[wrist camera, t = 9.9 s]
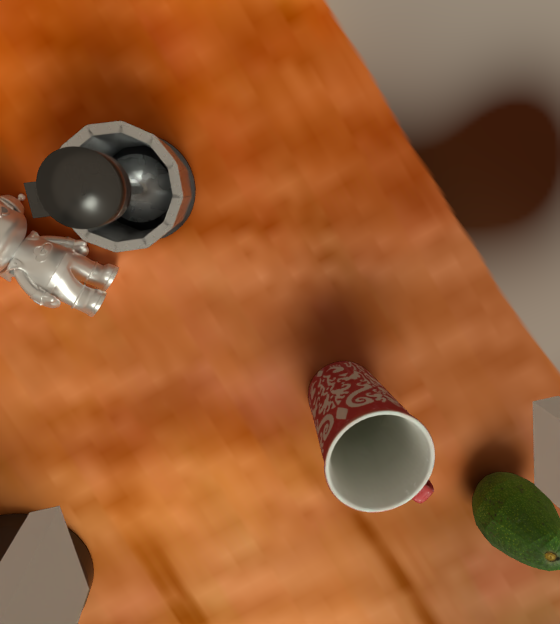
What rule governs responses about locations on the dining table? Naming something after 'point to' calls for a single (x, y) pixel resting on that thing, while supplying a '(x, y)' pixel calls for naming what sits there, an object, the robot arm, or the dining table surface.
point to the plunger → (101, 187)
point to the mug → (369, 441)
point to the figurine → (50, 263)
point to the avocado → (518, 520)
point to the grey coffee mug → (117, 144)
